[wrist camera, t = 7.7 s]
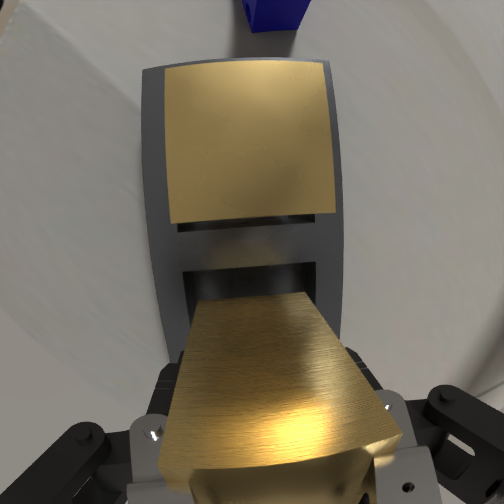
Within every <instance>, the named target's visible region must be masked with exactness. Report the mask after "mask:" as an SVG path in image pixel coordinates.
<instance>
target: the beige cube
mask: <svg viewBox="0 0 504 504" xmlns="http://www.w3.org/2000/svg"><path fill="white" fill-rule="evenodd" d="M165 145H166V167H167V183H168V197H169V209H170V220H171V224H173V223H184V222H195V221H207V220H220V219H233V218H247V217H262V216H278V215H296V214H316V213H336V207H335V183H334V165H333V151H332V139H331V128H330V118H329V109H328V100H327V92H326V85H325V77H324V71H323V64H322V63H315V62H301V61H276V60H253V61H228V62H214V63H203V64H194V65H186V66H179V67H172V68H166V69H165Z"/></svg>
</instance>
